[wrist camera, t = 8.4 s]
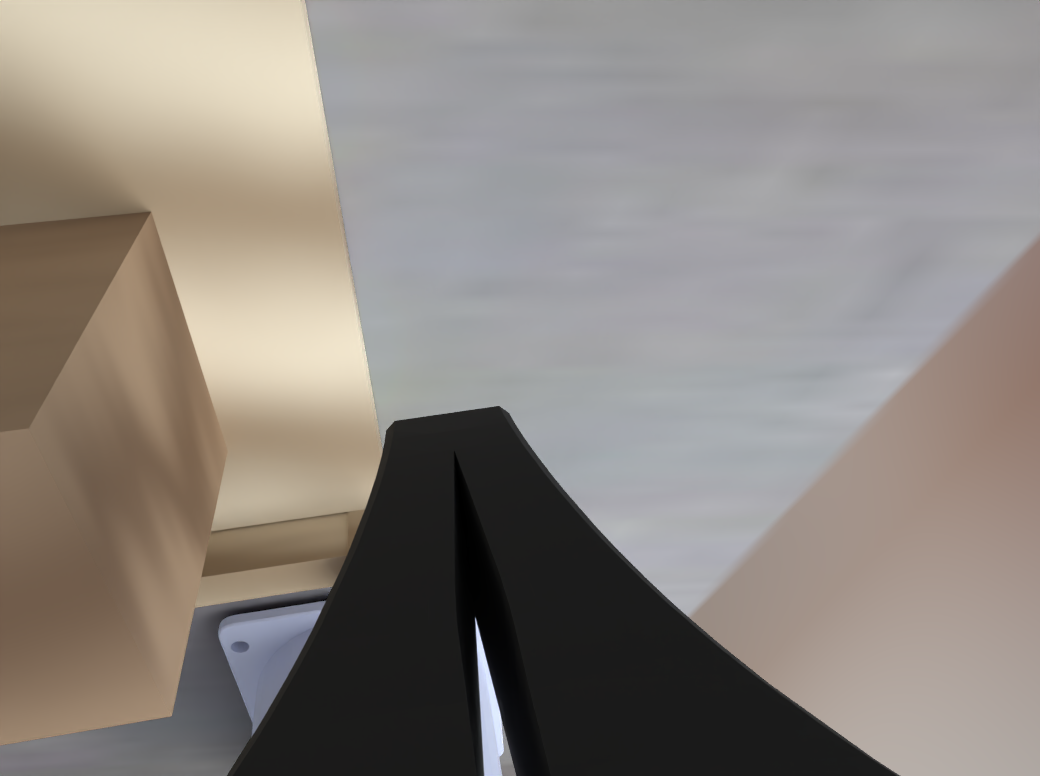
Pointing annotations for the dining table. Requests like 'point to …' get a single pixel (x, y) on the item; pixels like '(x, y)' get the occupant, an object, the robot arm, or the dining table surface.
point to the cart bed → (215, 244)
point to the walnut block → (97, 476)
